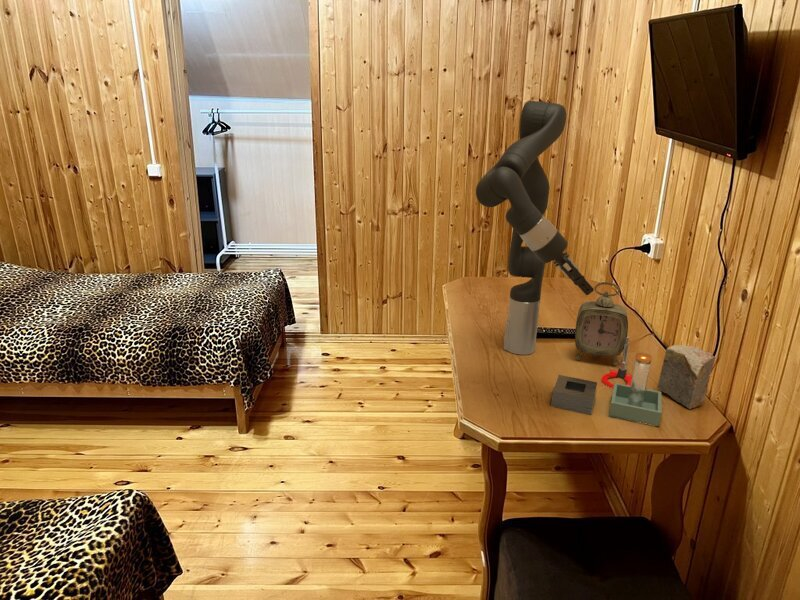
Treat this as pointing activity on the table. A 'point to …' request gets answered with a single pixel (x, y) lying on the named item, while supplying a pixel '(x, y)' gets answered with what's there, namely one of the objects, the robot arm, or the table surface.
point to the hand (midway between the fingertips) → (585, 286)
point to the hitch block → (574, 394)
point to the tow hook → (621, 371)
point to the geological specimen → (686, 374)
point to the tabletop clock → (601, 326)
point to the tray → (643, 414)
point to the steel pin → (639, 379)
